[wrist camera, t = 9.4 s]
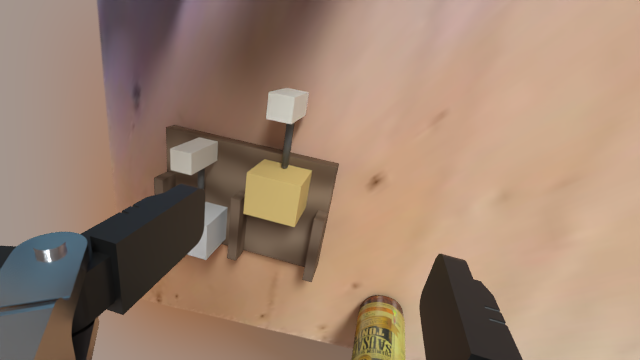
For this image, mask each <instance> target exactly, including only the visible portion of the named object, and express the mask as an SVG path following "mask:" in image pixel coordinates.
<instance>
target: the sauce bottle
mask: <svg viewBox="0 0 640 360" xmlns="http://www.w3.org/2000/svg"><path fill="white" fill-rule="evenodd" d="M352 360H405V322H404V318H403V311H402V308H401V306H400V305H399V304H398V302H396V301H395V300H394V299H392V298H389V297H386V296H381V295H380V296H376V295H375V296H371V297H370V298H368V299H366V300H365V301H364V303H363V304H362V305H361V307H360V311H359V314H358V319H357V326H356V332H355V340H354V347H353V354H352Z"/></svg>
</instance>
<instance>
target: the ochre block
mask: <svg viewBox="0 0 640 360" xmlns="http://www.w3.org/2000/svg"><path fill="white" fill-rule="evenodd" d="M308 96H309V92H305V91H300V90H296V89H291V88H284V89H279V90H275V91H270V92H269V94H268V104H267V114H266V119H269V120H274V121H278V122H283V123H287V125H286V133H285V141H284V148H283V156H282V163H279V162H274V161H270V160H266V159H264V160H263V161H261V162H260V163H259V164H257V165H256V166H255V167H254V168H252V169H251V170H250V171H248V172H247V176H246V188H245V200H244V212H243V214H246V215H250V216H254V217H258V218H262V219H265V220H269V221H273V222H277V223H280V224H284V225H288V226H292V227H295V226H296V224H297V222H298V220H299V218H300V217H301V215H302V213H303V211H304V210H305V208H306V203H307V197H308V192H309V186H310V180H311V174H312V170H308V169H304V168H299V167H295V166H291V165H288V164H289V157H290V150H291V143H292V136H293V129H294V122H296V121H297V120H299V119H301V118H302V117H304V116H305V115H306V109H307V103H308Z"/></svg>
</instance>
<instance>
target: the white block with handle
mask: <svg viewBox="0 0 640 360" xmlns="http://www.w3.org/2000/svg"><path fill="white" fill-rule="evenodd" d="M217 155H218V142H217V141H213V140H209V139H205V138H200V137H199V138H196V139H194V140H191V141H188V142H186V143H183V144H181V145H178V146H175V147H173V148H170V167H171V170H172V171H176V172H180V173H184V174H188V175H193V174H195V173H196V172H198V186H197V188H201V189H203V190H204V180H205V167H207V166H209V165H210V164H212V163H214V162H216V161H217ZM227 208H228V207H224V206H220V205H216V204H212V203H209V202H205V220H204V232H203V235H202V237H201V239H200V241H199V243H198V244H197V245H196V246H195V247H194V248H193V249H192V250H191V251H190V252H189V253H188V254H187V255H190V256H194V257H197V258H201V259H204V260H207V258H208V257H209V256H210V255H211V254H212V253H213V252H214V251H215V250H216V249H217V248H218V247H219V245H220V244H221V243H222V242H223V241H224V240H225V239H226V225H227Z"/></svg>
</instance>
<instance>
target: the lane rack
mask: <svg viewBox="0 0 640 360" xmlns="http://www.w3.org/2000/svg"><path fill="white" fill-rule="evenodd" d="M199 137H200V138H205V139H209V140H213V141H217V142H218V155H217V161H216V162H214V163H212V164H210V165H209V166H207V167H205V180H204V192H205V202H209V203H212V204H216V205H220V206H224V207H228V208H227V225H226V239H225V240H224V241H223V242H222V243H221V244H225V245H228V254H227V258H228V259H232V260H235V261H236V260H237V258H238V257H239V256H240V254H241V253H242V252H243V250H246V251H249V252H253V253H257V254H260V255H264V256H267V257H271V258H274V259H278V260H281V261H285V262H289V263H292V264H296V265H299V266H303V267H305V269H304V274H303V280H305V281H309V282H312V279H313V277H314V274H315V271H316V268H317V265H318V261H319V256H320V252H321V247H322V242H323V237H324V233H325V228H326V223H327V218H328V213H329V209H330V204H331V199H332V194H333V189H334V185H335V180H336V175H337V170H338V166H339V164H338V163H334V162H329V161H325V160H321V159H316V158H312V157H308V156H304V155H299V154H295V153H291V152H290V157H289V164H288V165H291V166H295V167H299V168H304V169H308V170H312V174H311V180H310V186H309V192H308V197H307V203H306V208H305V210H304V211H303V213H302V215H301V217H300V218H299V220H298V222H297V224H296V226H295V227H292V226H288V225H284V224H280V223H277V222H273V221H269V220H265V219H262V218H258V217H254V216H250V215H246V214H243V212H244V200H245V188H246V176H247V172H248V171H250V170H251V169H252V168H254V167H255V166H256V165H257V164H259V163H260V162H261V161H263V160H264V159H266V160H270V161H274V162H279V163H282V156H283V151H282V150H278V149H274V148H269V147H265V146H261V145H256V144H252V143H248V142H244V141H239V140H235V139H231V138H226V137H222V136H218V135H213V134H209V133H205V132H201V131H196V130H192V129H188V128H183V127H179V126H175V125H173V126H170V127H166V142H167V172H165V173H163V174H161V175H159V176H157V177H155V178H154V189H155V195H157V194H161V193H165V192H166V191H168V190H170V189H172V188H173V187H175V186H177V185H179V184H186V185H189V186H193V187H197V186H198V172H196V173H195V174H193V175H188V174H184V173H180V172H176V171H172V170H171V167H170V148H173V147H175V146H178V145H181V144H183V143H186V142H188V141H191V140H194V139H196V138H199Z"/></svg>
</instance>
